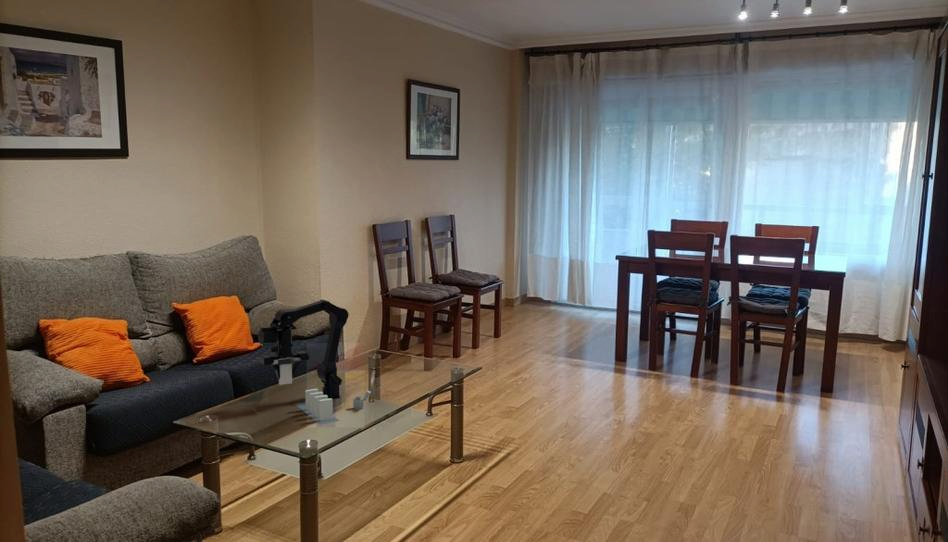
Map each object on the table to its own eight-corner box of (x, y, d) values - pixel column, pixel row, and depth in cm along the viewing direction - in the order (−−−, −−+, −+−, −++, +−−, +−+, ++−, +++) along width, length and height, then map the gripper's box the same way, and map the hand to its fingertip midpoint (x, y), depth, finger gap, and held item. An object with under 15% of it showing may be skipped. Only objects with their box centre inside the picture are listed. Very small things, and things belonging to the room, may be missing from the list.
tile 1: (305, 409, 287) (305, 390, 286) (317, 407, 290) (317, 388, 289) (307, 410, 286) (306, 391, 285) (318, 408, 289) (318, 389, 288)
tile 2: (310, 412, 283) (309, 393, 282) (321, 410, 286) (321, 391, 285) (311, 413, 282) (311, 394, 281) (323, 411, 284) (323, 392, 283)
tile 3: (314, 416, 279) (314, 396, 278) (326, 414, 282) (326, 394, 281) (315, 417, 278) (315, 397, 277) (327, 415, 280) (327, 395, 279)
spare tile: (278, 384, 289) (278, 364, 288) (290, 382, 292) (290, 363, 291) (280, 384, 288) (279, 365, 287) (292, 383, 291) (291, 364, 290)
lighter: (353, 409, 289) (353, 390, 288) (354, 408, 291) (354, 389, 290) (370, 410, 288) (369, 391, 287) (371, 409, 290) (371, 390, 289)
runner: (294, 404, 295) (294, 403, 295) (312, 401, 299) (312, 400, 299) (319, 425, 270) (319, 424, 270) (339, 421, 274) (339, 420, 274)
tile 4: (319, 420, 275) (318, 400, 274) (331, 417, 277) (330, 398, 276) (320, 421, 273) (320, 401, 272) (332, 419, 276) (332, 399, 275)
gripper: (300, 335, 299) (301, 370, 301) (256, 339, 289) (257, 376, 291) (309, 339, 290) (310, 376, 292) (263, 345, 280) (264, 383, 282)
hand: (285, 378), depth 290 cm, fingers closed on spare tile, 5 cm apart
